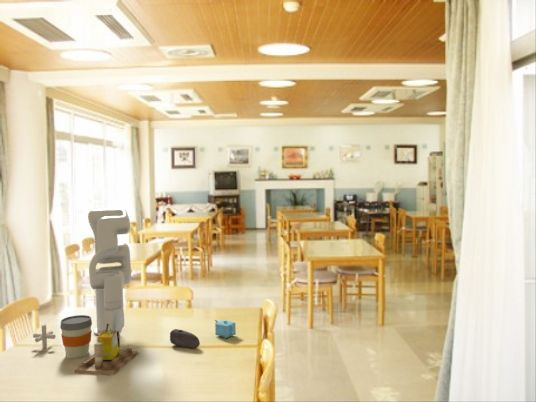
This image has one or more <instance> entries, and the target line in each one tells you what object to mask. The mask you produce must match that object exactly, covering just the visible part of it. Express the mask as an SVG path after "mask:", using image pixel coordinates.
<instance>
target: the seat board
mask: <svg viewBox="0 0 536 402" xmlns="http://www.w3.org/2000/svg"><path fill="white" fill-rule="evenodd" d="M93 346H94V347H93V349H94V353H93V354H92V355H91V356H89V357H88V358H86V359H85V360H84V361H82V362H81V365H79V366H77V367H76V368H74V373H75V374H90V375H103V376H104V375H105V376H114V375H116V373H117V372H120V370H121V369H122V368H124V367H125V366H126V365H127V364H128V363H130V362H131V361H132V360H133V359H134V358H136V356H138V355H139V353H140V352H139V351H138V350H133V348H132V347H127V348H126V349H119V355H118V356H117V357H116V358H115V359H113V360H112V361H103V349H102V343H98V342H96V343H94V345H93Z"/></svg>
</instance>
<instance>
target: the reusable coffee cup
mask: <svg viewBox="0 0 536 402" xmlns="http://www.w3.org/2000/svg"><path fill="white" fill-rule="evenodd" d="M92 325H93V321H92V316H90V315H86V314H84V315H83V314H82V315H81V314H80V315H72V316H71V315H70V316H67V317H64V318H62V319H61V321H60V326H59V327H60V330H61V339H62V340H61V341H62V345H63V346H64V351H65V356H66V357H67V358H70V359H77V358H82V357H85V356H88V354H89V351H90V343H91V341H92V329H91V328H92Z"/></svg>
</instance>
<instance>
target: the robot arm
mask: <svg viewBox="0 0 536 402" xmlns="http://www.w3.org/2000/svg"><path fill="white" fill-rule="evenodd" d="M87 216H88V217H87V219H88V223H89V226H90V229H91V230H92V233H93V236H94V237H93V238H94V253H95V254H94V255H93V256H92V258H91V260H90V262H89V265H88V266H89V267H88V272H89V275H88V276H89V284H90V285H89V286H90V287H91V289H92V290H95V291H94V292H95V307H96V308H95V309H96V311H95V313H96V327H95V328H94V329H93V333H94V335H97V336H98V335H99V334H100V333H101V332H102V331H106V330H107V331H114V330H117V339H118V348H120V347H121V346H120V345H121V344H120V343H121V342H120V337H121V332H122V330H123V328H124V327H125V314H124V313H125V312H124V292H123V291H124V289H123V288H124V286H125V285H129V284H130V282H131V281H132V267H131V264H132V263H131V252H130V251H131V250H130V247H129V245H128V244H127V243H124V242H119V240H118V236H119V235H127V234H129V233H130V232H131V231H130V230H131V221H130V217H129V214H128V212H127V210H126V209H125V208H122V207H120V208H119V207H116V208H97V209H91V210H90V211H89V212H88V215H87ZM98 264H99V265H101V264H102V265H108V264H110V265H111V264H120V265H111V266H110V265H108V266H101V267H98V268H97V265H98Z"/></svg>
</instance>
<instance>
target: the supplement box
mask: <svg viewBox="0 0 536 402" xmlns="http://www.w3.org/2000/svg"><path fill="white" fill-rule="evenodd" d="M96 338H97V343H102V349H103V361H112V360H113V359H115V358H116V357H117V356H118V355H119V350H120V349H119V348H120V347H119V348H118V339H117V330H114V331H107V330H106V331H102V332H101V333H100V334H99V335H97V336H96Z"/></svg>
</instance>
